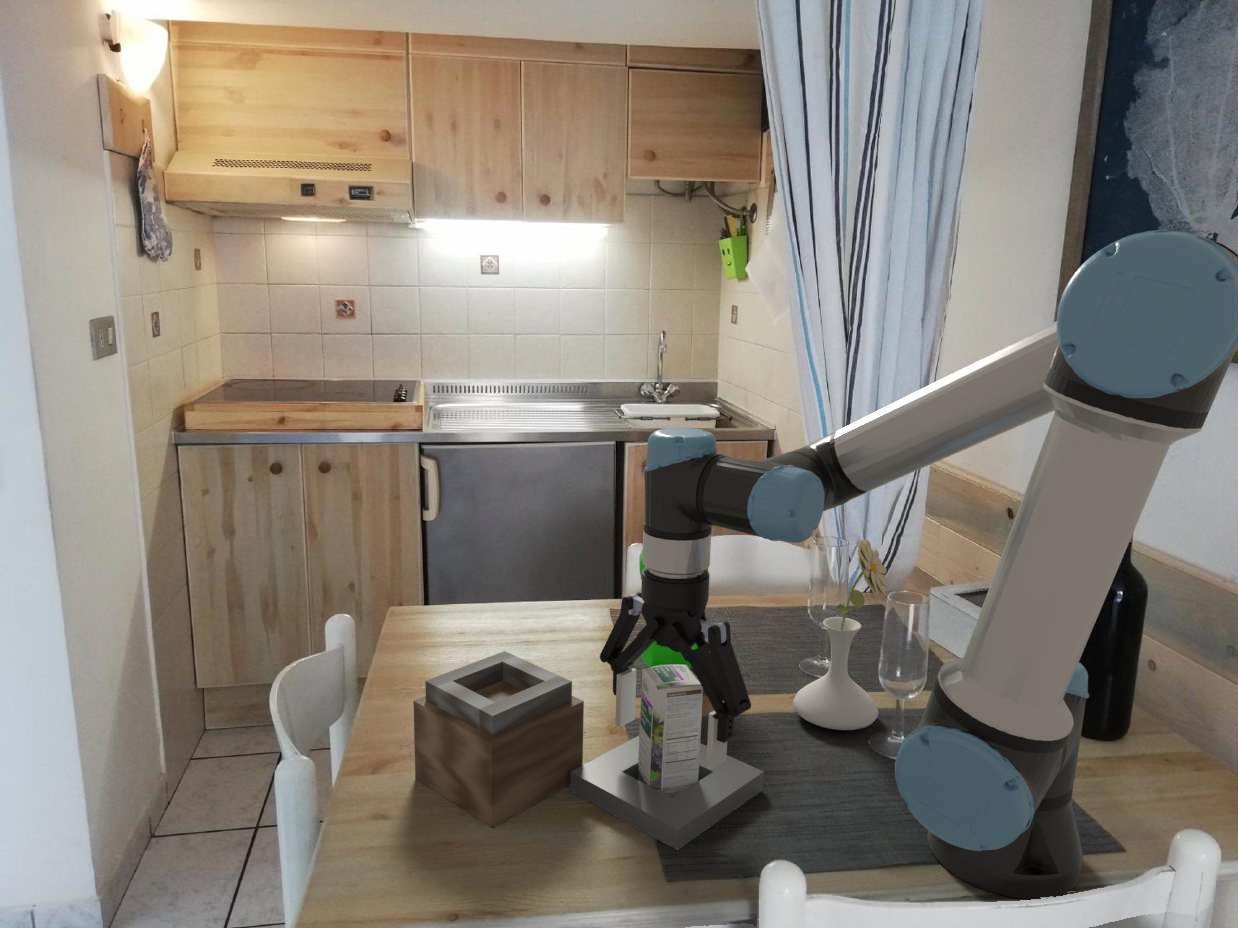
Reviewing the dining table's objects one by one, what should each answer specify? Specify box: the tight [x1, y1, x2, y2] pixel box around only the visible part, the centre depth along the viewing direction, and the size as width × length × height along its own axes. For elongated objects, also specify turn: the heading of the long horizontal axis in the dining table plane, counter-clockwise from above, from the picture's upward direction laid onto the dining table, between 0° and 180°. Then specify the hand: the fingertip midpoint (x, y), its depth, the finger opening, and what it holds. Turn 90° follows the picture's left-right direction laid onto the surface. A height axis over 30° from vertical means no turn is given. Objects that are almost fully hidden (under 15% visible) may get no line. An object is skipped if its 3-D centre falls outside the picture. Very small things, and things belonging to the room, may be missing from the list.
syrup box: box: [638, 664, 704, 798], centre depth 108 cm, size 6×6×14 cm
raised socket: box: [413, 650, 585, 828], centre depth 110 cm, size 14×14×12 cm
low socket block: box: [569, 735, 765, 850], centre depth 109 cm, size 16×16×2 cm
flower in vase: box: [792, 539, 890, 731], centre depth 126 cm, size 13×11×25 cm
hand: (668, 742), depth 108 cm, fingers open, 13 cm apart
